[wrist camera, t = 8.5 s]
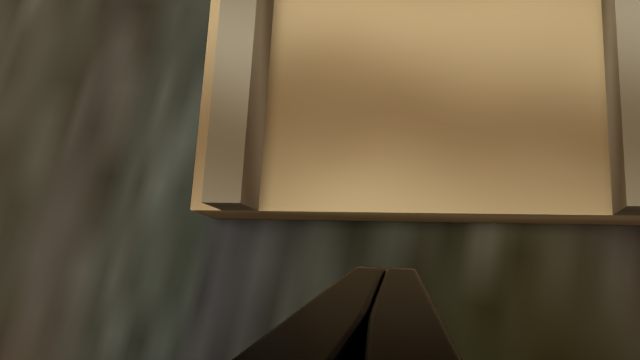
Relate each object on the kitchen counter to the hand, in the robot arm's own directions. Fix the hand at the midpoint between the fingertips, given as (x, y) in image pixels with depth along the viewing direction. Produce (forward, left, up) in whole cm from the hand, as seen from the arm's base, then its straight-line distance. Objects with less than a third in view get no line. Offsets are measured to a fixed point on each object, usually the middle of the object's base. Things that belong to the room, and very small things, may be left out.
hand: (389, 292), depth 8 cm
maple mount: (+7, +7, -7) cm, 12 cm away
